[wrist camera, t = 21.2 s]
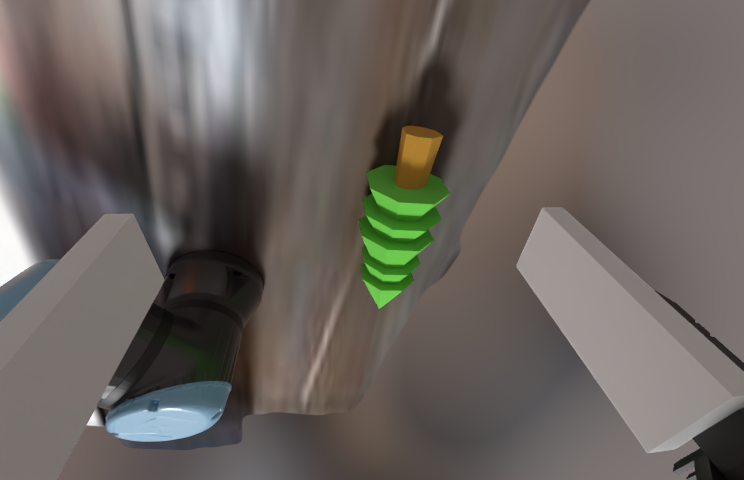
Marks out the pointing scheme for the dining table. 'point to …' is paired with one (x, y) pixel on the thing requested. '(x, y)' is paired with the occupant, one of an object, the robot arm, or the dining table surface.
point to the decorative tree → (400, 214)
